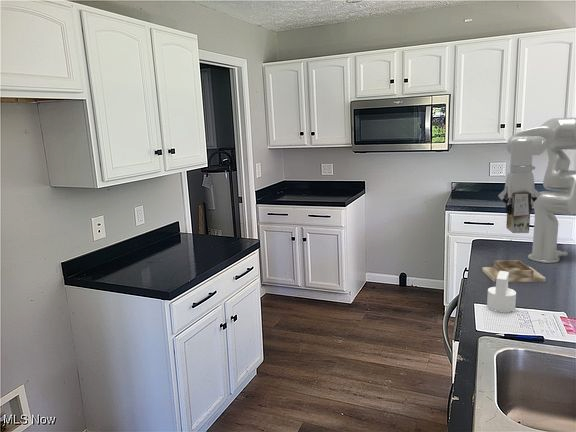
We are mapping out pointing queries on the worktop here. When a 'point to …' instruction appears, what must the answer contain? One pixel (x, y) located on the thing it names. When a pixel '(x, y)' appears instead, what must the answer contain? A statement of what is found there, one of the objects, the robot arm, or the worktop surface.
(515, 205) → the coffee box
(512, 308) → the cylinder with rectangular tab
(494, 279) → the holder
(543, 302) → the worktop surface
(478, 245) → the worktop surface
